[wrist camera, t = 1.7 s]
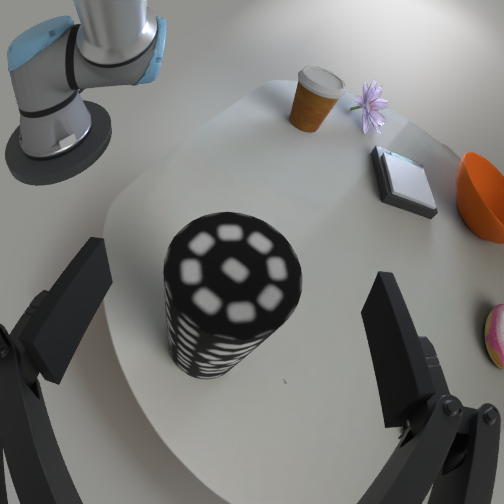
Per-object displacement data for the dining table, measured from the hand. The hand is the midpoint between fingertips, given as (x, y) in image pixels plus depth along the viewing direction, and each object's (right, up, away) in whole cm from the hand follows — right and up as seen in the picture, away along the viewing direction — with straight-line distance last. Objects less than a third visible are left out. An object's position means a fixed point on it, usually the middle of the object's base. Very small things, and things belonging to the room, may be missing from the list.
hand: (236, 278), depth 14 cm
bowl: (+56, +10, +49) cm, 75 cm away
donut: (+50, -17, +32) cm, 61 cm away
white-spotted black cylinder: (-5, -10, +21) cm, 24 cm away
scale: (+32, +15, +45) cm, 57 cm away
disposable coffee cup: (+11, +28, +47) cm, 56 cm away
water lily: (+28, +32, +54) cm, 69 cm away
